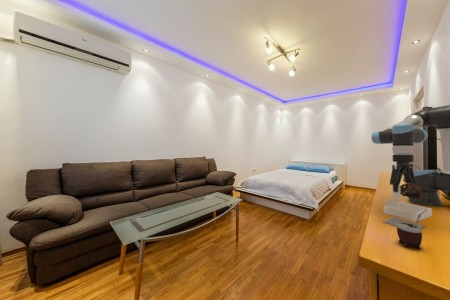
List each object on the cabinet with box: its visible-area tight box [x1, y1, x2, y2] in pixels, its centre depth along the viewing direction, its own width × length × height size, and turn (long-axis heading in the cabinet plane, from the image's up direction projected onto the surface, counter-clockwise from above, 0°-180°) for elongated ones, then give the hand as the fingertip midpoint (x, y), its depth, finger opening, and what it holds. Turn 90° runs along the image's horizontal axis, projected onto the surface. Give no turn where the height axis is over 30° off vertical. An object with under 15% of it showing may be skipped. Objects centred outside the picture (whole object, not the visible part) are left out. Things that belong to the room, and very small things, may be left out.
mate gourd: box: [396, 210, 427, 250], centre depth 70 cm, size 8×8×15 cm
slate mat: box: [382, 217, 427, 230], centre depth 88 cm, size 12×12×1 cm
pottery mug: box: [399, 182, 423, 199], centre depth 85 cm, size 12×9×8 cm
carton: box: [383, 198, 433, 222], centre depth 101 cm, size 18×14×7 cm
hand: (402, 197), depth 88 cm, fingers closed on pottery mug, 11 cm apart
